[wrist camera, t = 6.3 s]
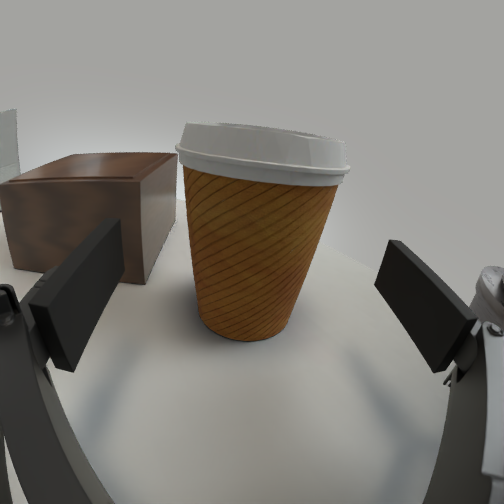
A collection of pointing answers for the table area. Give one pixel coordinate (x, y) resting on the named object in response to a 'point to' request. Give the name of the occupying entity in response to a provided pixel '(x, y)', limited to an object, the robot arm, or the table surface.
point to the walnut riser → (91, 208)
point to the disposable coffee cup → (255, 219)
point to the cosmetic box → (8, 146)
